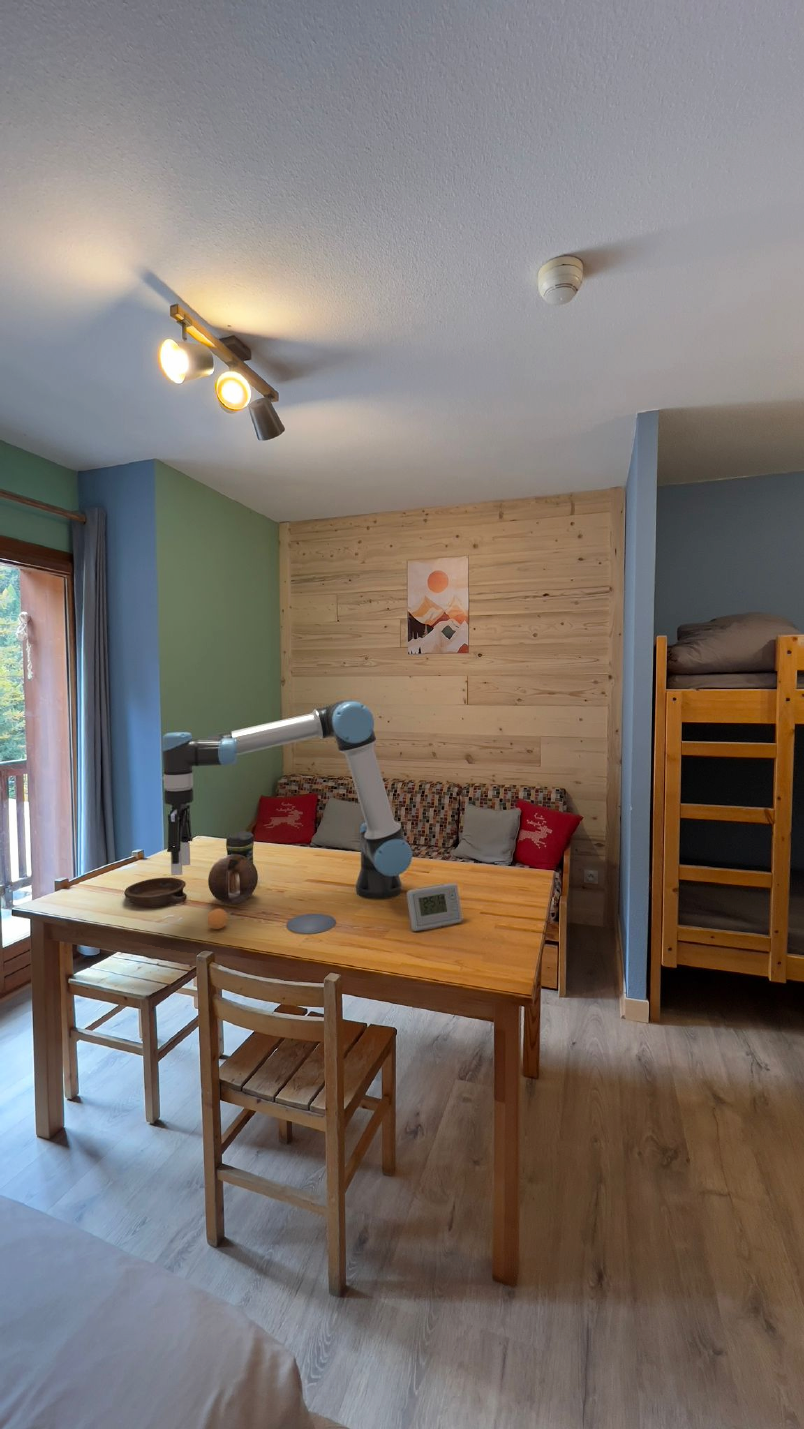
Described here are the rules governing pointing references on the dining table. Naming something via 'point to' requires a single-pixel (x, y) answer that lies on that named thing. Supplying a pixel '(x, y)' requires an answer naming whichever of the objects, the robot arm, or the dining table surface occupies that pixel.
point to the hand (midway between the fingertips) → (181, 869)
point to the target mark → (311, 923)
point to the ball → (217, 919)
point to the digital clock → (434, 906)
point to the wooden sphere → (233, 879)
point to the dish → (156, 892)
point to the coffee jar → (241, 844)
